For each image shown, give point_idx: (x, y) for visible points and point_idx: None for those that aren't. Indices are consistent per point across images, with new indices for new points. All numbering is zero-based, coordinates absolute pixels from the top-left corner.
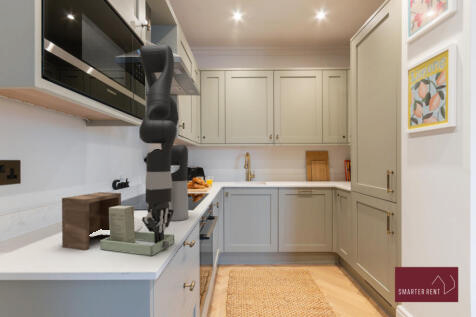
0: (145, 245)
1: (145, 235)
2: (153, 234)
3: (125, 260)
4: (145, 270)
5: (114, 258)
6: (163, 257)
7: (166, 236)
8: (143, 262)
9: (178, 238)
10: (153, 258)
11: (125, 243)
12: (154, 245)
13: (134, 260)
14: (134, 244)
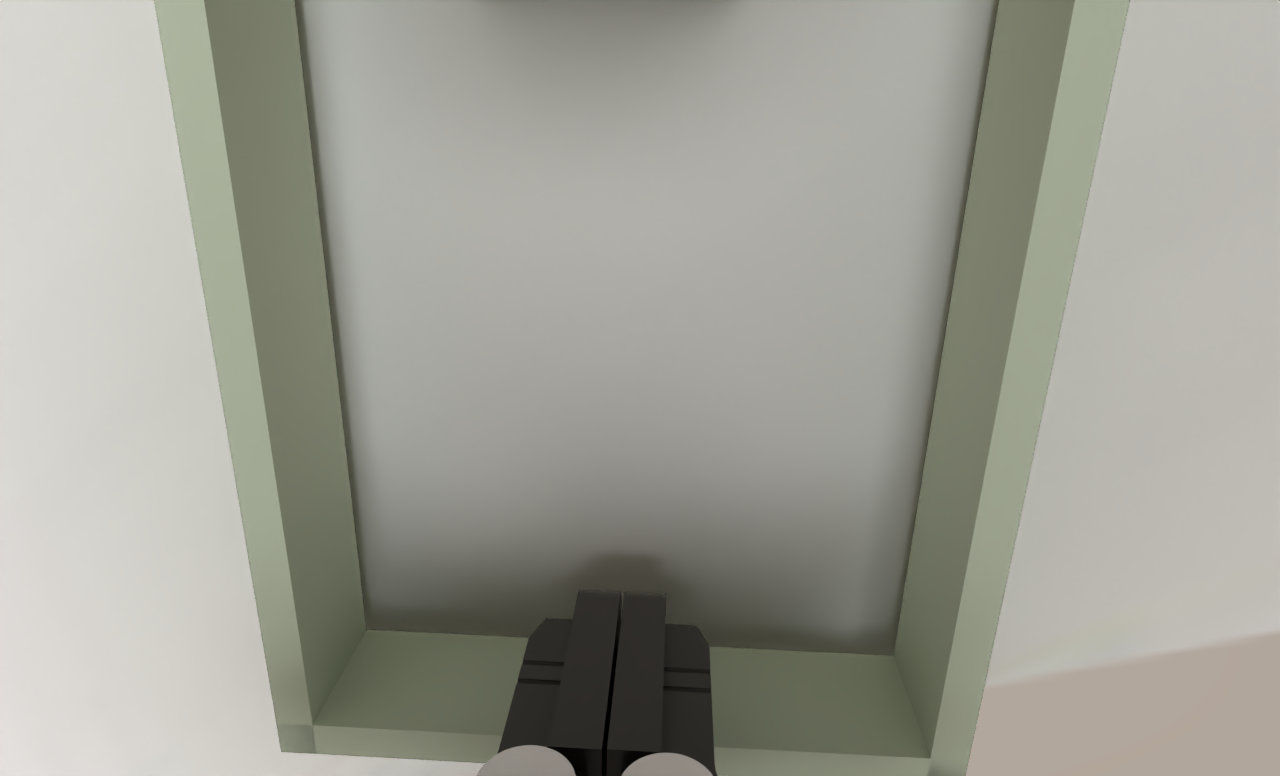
0: (270, 634)
1: (1026, 97)
2: (997, 347)
3: (70, 385)
4: (2, 772)
5: (30, 157)
6: (379, 772)
7: (939, 638)
8: (145, 643)
9: (1215, 612)
10: None
11: (189, 191)
12: (342, 751)
13: (134, 503)
14: (225, 419)
